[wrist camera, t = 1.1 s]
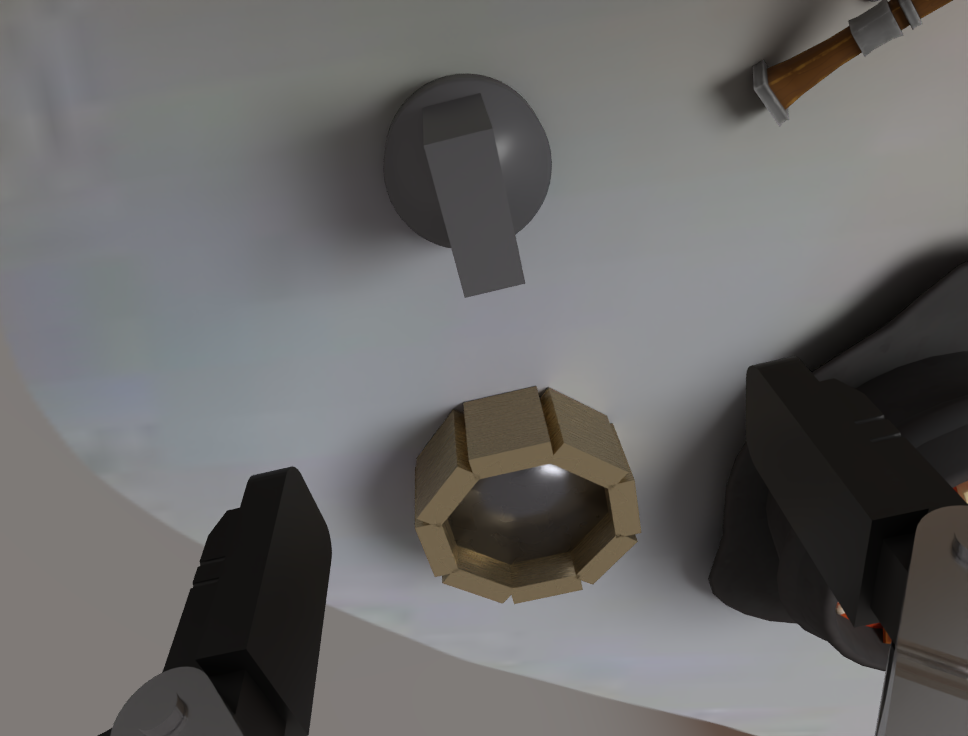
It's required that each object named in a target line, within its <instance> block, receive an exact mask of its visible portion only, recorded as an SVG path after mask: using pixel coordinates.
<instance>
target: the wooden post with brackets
mask: <svg viewBox="0 0 968 736" xmlns="http://www.w3.org/2000/svg"><path fill="white" fill-rule="evenodd" d="M869 1H871V2H875V1H878V0H869ZM951 1H953V0H891V1H889V2H888V1H887V0H882V1H881V2H880V3H878V4H877V5H876V6H874V7H873V8H871V9H869V10H868V11H866V12H865V13H863V14H861V15H860V16H858V17H856V18H853V19H851V20H849V21H848V22H849V26H848V27H847V28H845V29H844V30H842V31H840V32H839V33H837V34H836V35H834V36H832V37H831V38H829V39H827V40H825V41H823V42H821V43H820V44H818V45H816V46H814V47H812V48H810V49H808V50H806V51H804V52H802V53H800V54H798V55H796V56H794V57H792V58H791V59H789V60H787V61H784V62H782V63H779V64H777V65H775V66H772V67H770V68H768V66H767V65H766V63H765V62H764V60H762V61H761V62H760V63H758V64H757V65H755V66H753V83H754V90H755V92H756V93H757V95H758V96H759V97H760V99H761V100H762V102H763V103H764V105H765V106H766V108H767V109H768V111H769V112H770V113H771V115H772V116H773V118H774V119H775V121H776V122H777V124H778V125H779V127H780V126H781V124H782V123H783V122H785V121H786V120H789V113H788V107H789V106H790V105H791V104H793V103H794V102H795V101H796V100H797V99H798V98H799V97H800V96H801V95H803V94H804V93H805V92H807V91H808V90H809V89H811V88H812V87H813V86H815V85H816V84H817V83H818V82H820V81H821V80H822V79H824V78H825V77H826V76H828V75H829V74H830V73H832V72H833V71H834V70H836V69H837V68H838V67H840V66H841V65H843V64H844V63H846V62H847V61H849V60H851V59H852V58H854V57H855V56H857V55H859V54H860V53H863V54H864V56H866V55H867V54H869V53H870V52H871V51H872V50H874V49H876V48H877V47H879V46H881V45H883V44H885V43H886V42H888V41H890V40H892V39H894V38H897V37H900V36H903V33H902V30H903V29H904V28H906V27H907V26H909V25H911V27H912V29H914V28H915V27H917V26H918V25H921V24H922V22H921V18H923V17H924V16H926V15H928V14H930V13H932V12H933V11H935V10H937V9H939V8H940V7H942V6H944V5H946V4H947V3H949V2H951Z"/></svg>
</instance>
